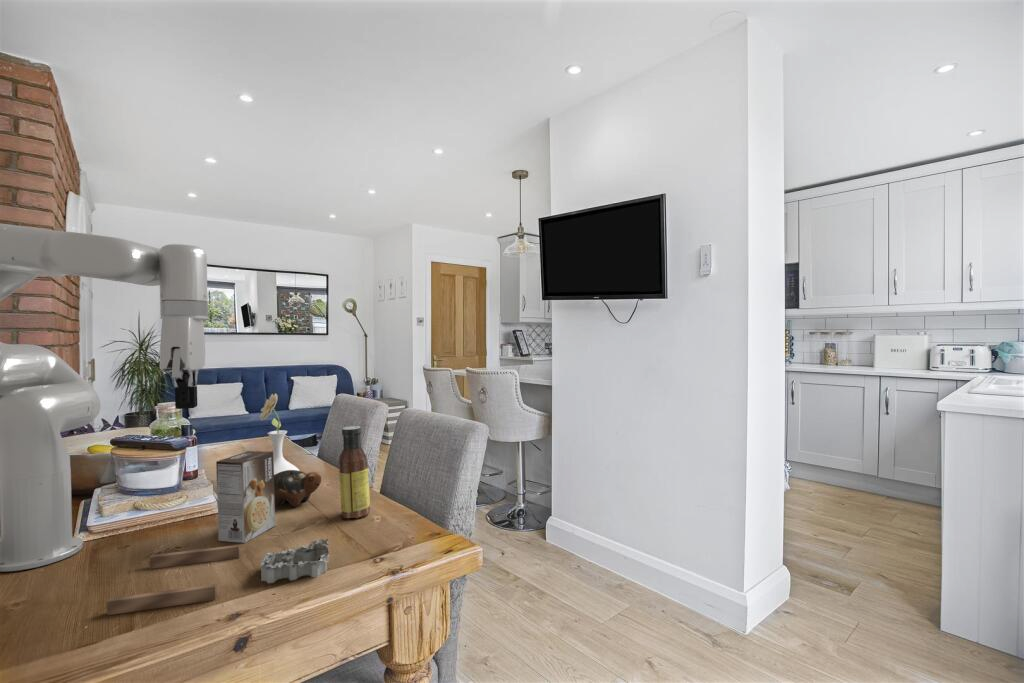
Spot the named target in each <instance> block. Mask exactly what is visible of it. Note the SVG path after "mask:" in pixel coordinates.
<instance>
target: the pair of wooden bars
mask: <svg viewBox="0 0 1024 683" xmlns="http://www.w3.org/2000/svg"><path fill="white" fill-rule="evenodd" d="M240 556H241V544H235V545H227V546H218V547H211V548H203V549H202V548H201V549H192V550H191V549H190V550H184V551H177V552H168V553H159V554H151V556H150V557H149V570H151V569H160V568H167V567H168V568H169V567H175V566H176V567H177V566H183V565H184V566H185V565H192V564H200V563H208V562H217V561H224V560H232V559H239V558H240ZM217 598H218V584H217V583H214V584H206V585H199V586H191V587H185V588H175V589H169V590H161V591H155V592H148V593H140V594H133V595H126V596H125V595H124V596H118V597H110V598H108V600H107V601H106V615H107V616H111V615H118V614H126V613H133V612H140V611H146V610H154V609H161V608H167V607H175V606H180V605H181V606H182V605H188V604H195V603H202V602H203V603H204V602H208V601H209V602H210V601H215V600H216V599H217Z"/></svg>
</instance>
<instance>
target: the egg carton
mask: <svg viewBox="0 0 1024 683" xmlns="http://www.w3.org/2000/svg"><path fill="white" fill-rule="evenodd" d="M328 547H329V539H328V538H326V539H323V538H322V539H318V540H314V541H311V542H310V543H309V545H301V546H300V547H298V548H293V549H292V548H289V549H286V550H282V551H280V552H276V553H275V552H274V551H273V552H267V553H266V554H264V557H262V559H261V561H260V563H259V565H261V566H260V567H261V568H260V577H261V582H266V584H273V583H275V582H276V581H278V580H281V579H289V581H296V580H297V579H299V578H301V577H304V576H308V577H309V576H310V577H311V578H312V577H313V578H317V577H316V576H318V575H319V576H320V575H322V574H324V572H325V573H327V571H326V570H328V569H327V565H328V564H329V557H330V552H329V549H328ZM319 559H320V560H319ZM327 563H328V564H327ZM321 573H322V574H321ZM319 576H318V577H319Z"/></svg>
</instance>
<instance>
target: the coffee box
mask: <svg viewBox="0 0 1024 683" xmlns="http://www.w3.org/2000/svg"><path fill="white" fill-rule="evenodd" d="M215 464H216V465H215V466H216V493H217V494H216V495H217V497H216V498H217V499H216V500H217V530H218V531H217V532H218V533H217V534H218V537H217V538H218V541H219V542H229V543H240V544H242V543H243V544H246V543H247V542H249V541H251V540H252V539H255V538H256V537H258V536H260V535H262V534H263V533H265V532H267V531H268V530H270V529H271V528H273V527H276V507H275V506H276V504H275V495H274V459H273V451H259V450H257V451H256V450H255V451H254V450H248V451H244V452H242V453H237V454H234V455H232V456H229V457H226V458H223V459H220V460H217V461H215Z"/></svg>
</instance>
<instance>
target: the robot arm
mask: <svg viewBox="0 0 1024 683" xmlns="http://www.w3.org/2000/svg"><path fill="white" fill-rule="evenodd" d="M207 259H208V258H207V253H206V251H205V250H204V249H203V248H202V247H199V246H196V245H191V244H190V245H189V244H180V243H179V244H178V243H177V244H175V243H173V244H165V245H163V246H161V248H158V247H154V246H149V245H146V244H143V243H140V242H137V241H136V242H135V241H132V240H129V239H123V238H119V237H114V236H105V235H97V234H92V233H91V234H90V233H84V232H83V233H82V232H76V231H75V232H74V231H66V230H65V231H63V230H55V229H46V228H40V227H31V226H24V225H23V226H22V225H17V224H16V225H15V224H7V223H0V302H1V301H2V300H4V299H6V298H8V297H9V296H10V295H12V294H13V293H15V292H16V291H18V290H19V289H21V288H23V287H24V286H25V285H27V284H29V283H31V282H32V281H34V280H35V279H36V278H38V277H39V276H46V277H47V276H48V277H54V278H63V277H65V276H75V277H83V278H84V277H85V278H92V279H99V280H106V281H113V282H120V283H128V284H134V285H138V286H139V285H140V286H147V287H156V286H157V287H158V286H159V305H160V306H159V309H160V310H159V311H160V312H159V313H160V314H159V315H160V316H159V317H160V318H159V319H160V320H162V324H161V329H160V345H159V346H160V347H159V348H160V350H159V370H160V371H161V372H163V373H168V372H171V379H173V382H174V385H173V386H174V401H175V402H174V405H175V406H174V407H175V409H177V410H183V409H194V408H197V407H198V374H199V370H201V369H203V368H204V367H205V365H206V342H205V328H204V320H208V319H209V312H208V311H209V308H208V307H209V306H208V304H209V303H208V262H207ZM101 407H102V405H101V399H100V397H99V394H98V393H97V391H96V390H95V389H94V388H93V386H92V385H91V384H89V382H88V381H86V380H85V379H84V378H83V377H82V376H81V375H80V374H79V373H78V372H77V371H76V370H75V369H74V368H72V366H70V365H69V364H68V363H67V362H66V361H65V360H63V358H61V357H60V356H59V355H57V353H55V352H53V351H52V350H50V349H48V348H45V347H43V346H40V345H36V344H28V343H25V344H24V343H23V344H22V343H18V344H15V343H14V344H13V343H4V342H1V341H0V572H1V573H5V572H6V573H8V572H17V571H18V572H19V571H24V570H30V569H34V568H35V569H36V568H40V567H44V566H47V565H50V564H53V563H57V562H60V561H62V560H65V559H67V558H69V557H71V556H73V555H76V554H77V553H78V552H79V551H81V550H82V548H83V547H84V540H83V539H82V538H81V537H78V536H77V537H76V536H73V517H72V516H73V514H72V507H73V506H72V473H71V472H72V469H71V456H70V451H69V448H68V446H67V445H66V443H65V440H64V439H63V438H62V437H63V436H62V435H61V433H64V432H67V431H71V430H77V429H79V428H82V427H85V426H87V425H89V424H90V423H92V422H93V421H95V419H96V418H97V417H98V415H99V414H100V411H101Z"/></svg>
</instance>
